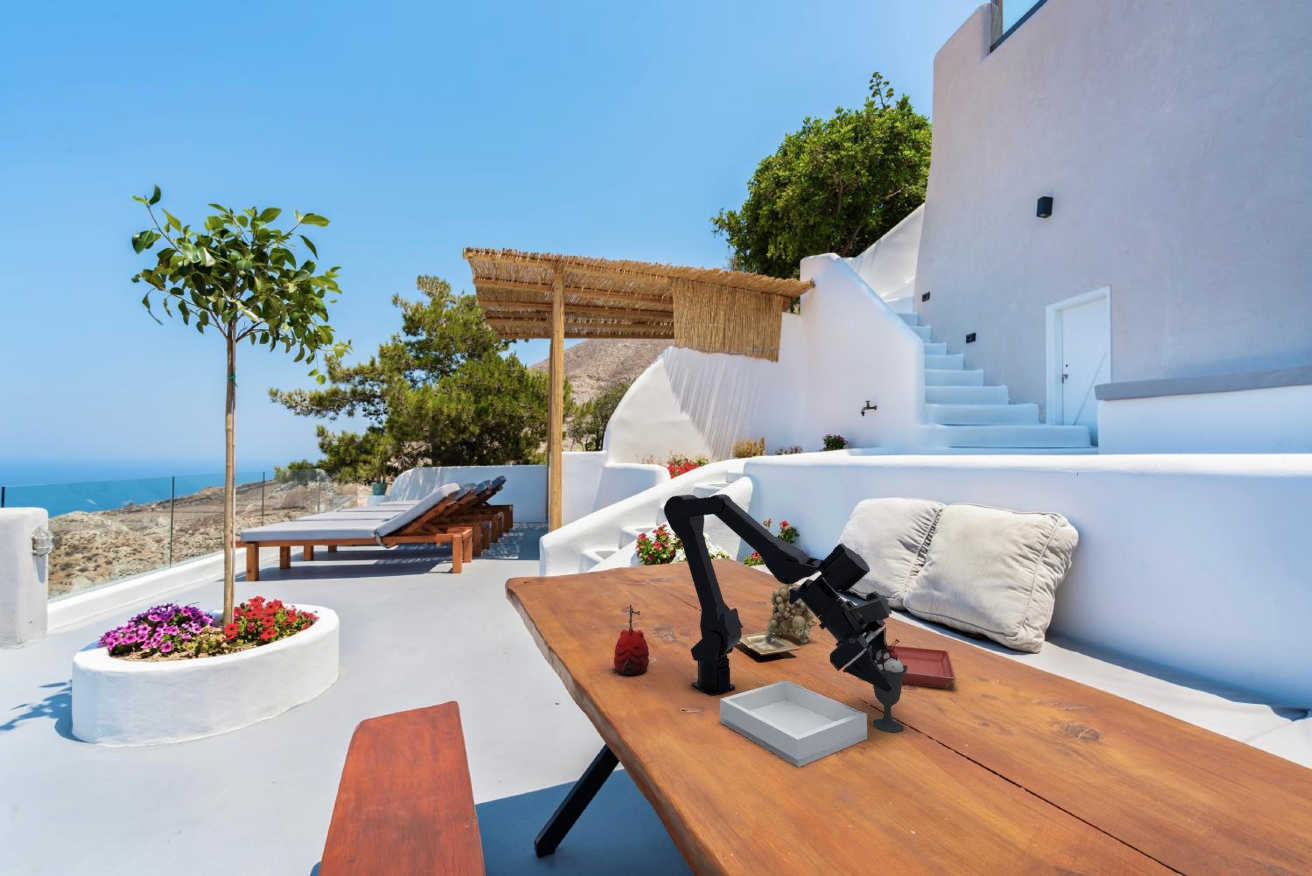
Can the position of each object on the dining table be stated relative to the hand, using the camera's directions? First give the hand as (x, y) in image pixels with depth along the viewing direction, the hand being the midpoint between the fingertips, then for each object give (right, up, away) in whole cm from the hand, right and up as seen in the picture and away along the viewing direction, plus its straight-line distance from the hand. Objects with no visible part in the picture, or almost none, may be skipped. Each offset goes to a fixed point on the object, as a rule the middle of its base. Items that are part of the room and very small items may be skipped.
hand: (895, 681), depth 100 cm
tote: (-18, -8, -1) cm, 20 cm away
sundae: (-1, -8, 0) cm, 8 cm away
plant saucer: (+13, -9, +26) cm, 31 cm away
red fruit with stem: (-46, -9, +27) cm, 54 cm away
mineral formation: (-6, -10, +50) cm, 51 cm away
